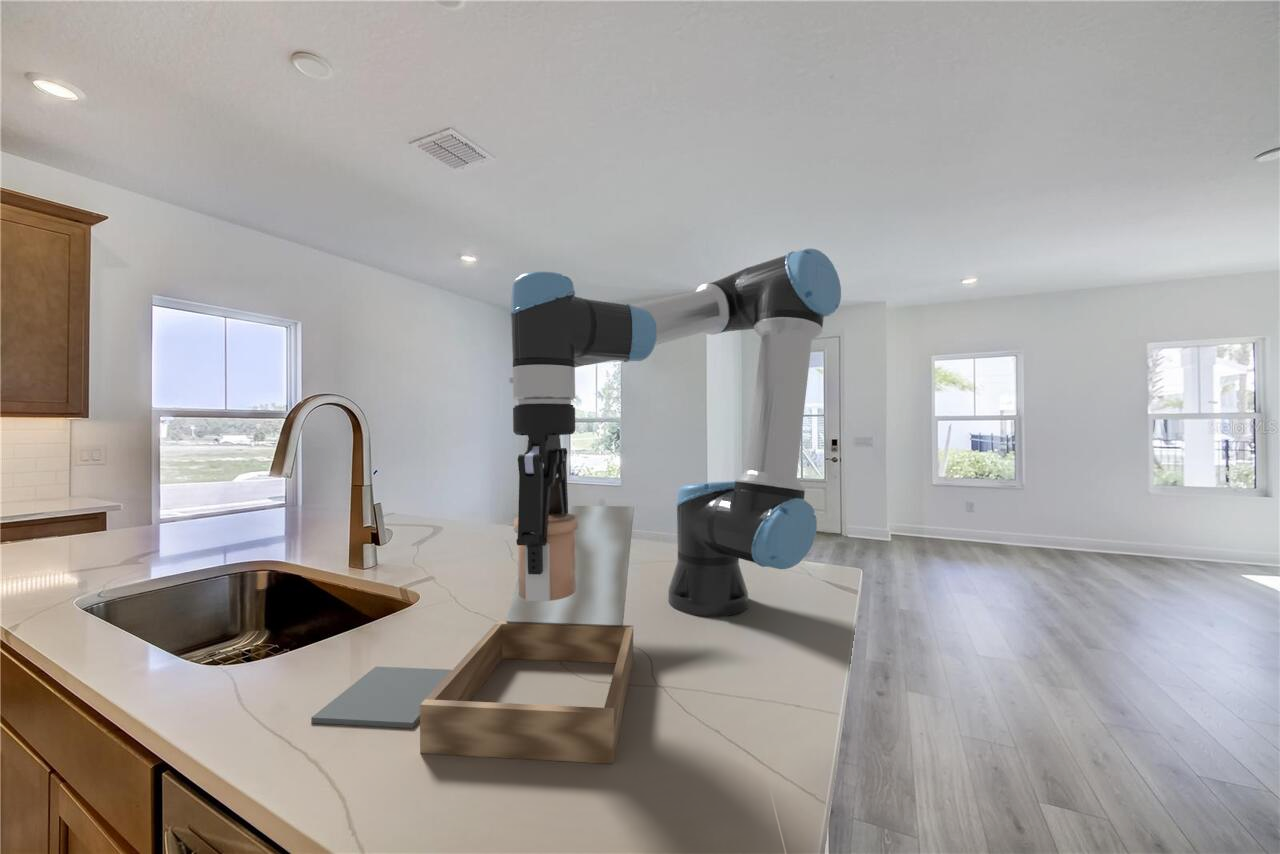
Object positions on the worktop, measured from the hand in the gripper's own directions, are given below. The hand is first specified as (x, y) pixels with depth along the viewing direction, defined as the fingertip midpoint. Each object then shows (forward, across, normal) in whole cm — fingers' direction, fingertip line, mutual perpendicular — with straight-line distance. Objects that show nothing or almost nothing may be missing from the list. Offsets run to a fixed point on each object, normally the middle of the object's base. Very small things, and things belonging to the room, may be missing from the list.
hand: (546, 588), depth 62 cm
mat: (+13, +1, -19) cm, 24 cm away
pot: (0, 0, 0) cm, 0 cm away
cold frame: (+14, -8, 0) cm, 16 cm away
